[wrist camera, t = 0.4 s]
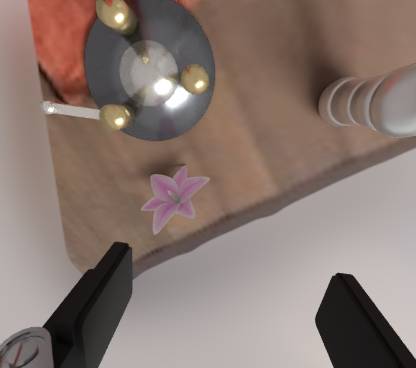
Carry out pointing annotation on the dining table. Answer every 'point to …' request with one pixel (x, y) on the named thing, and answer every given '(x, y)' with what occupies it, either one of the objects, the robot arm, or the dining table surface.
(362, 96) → the plastic bottle
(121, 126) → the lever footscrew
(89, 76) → the plate
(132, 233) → the dining table surface
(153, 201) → the lily
